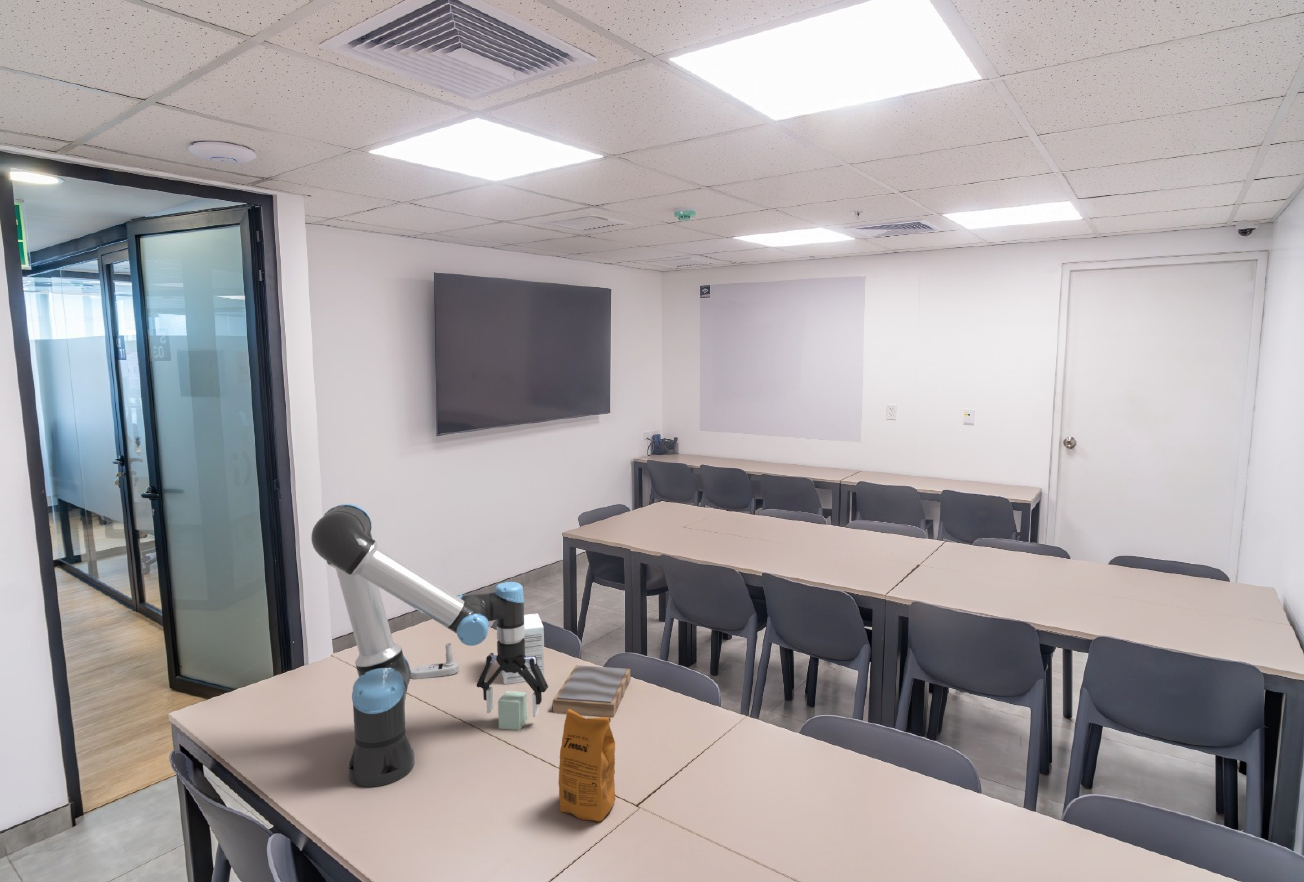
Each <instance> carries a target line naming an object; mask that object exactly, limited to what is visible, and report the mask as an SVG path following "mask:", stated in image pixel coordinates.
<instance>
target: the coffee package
mask: <svg viewBox="0 0 1304 882" xmlns="http://www.w3.org/2000/svg"><path fill="white" fill-rule="evenodd" d="M565 716H566V717H565V720H564V725H563V732H562V733H563V734H562V739H561V746H560V750H559V751H560V752H559V766H558V767H559V768H558V797H559V799H558V800H559V812H561V813H566V814H572V815H573V816H575V817H576V818H578V819H579V820H582V821H594V822H601V821H604V820H605V817H606V816H607V815H608V814H609V812H610V811H611V810H612V809H613V806H614V805H615V801H616V785H615V773H616V770H615V768H616V767H615V765H616V754H615V753H616V740H615V738H614V735H613V732H612V729H611V725H610V724H611V720H612V719H611V717H605V716H599V717H587V718H586V717H584V716H582V715H581V714H577V713H576V712H574V711H572V710H571V709H568V710H567V713H565Z"/></svg>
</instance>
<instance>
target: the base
mask: <svg viewBox="0 0 1304 882" xmlns="http://www.w3.org/2000/svg"><path fill="white" fill-rule="evenodd" d="M631 671H632V670H631V668H622V667H621V668H620V667H608V666H607V667H605V666H593V665H579V664H576V665H575V666H574V668H573V669H572V671H571V672H570V673H569V675H568V677H567V678H566V680H565V681H564V683H563V684H562V685H561V687H560V689H559V690H558V692H557V693H556V695H555V696H554V698H553V699H552V712H553V713H558V714H567V710H568V709H571V710H572V711H574V712H576V713H577V714H579V715H581V716H582V715H583V716H592V717H593V716H594V717H595V716H596V717H609V718H615V716H616V713H617V711H618V709H619V707H620V705H621V702H622V700H623V698H624V695H625V693H626V691H627V689H628V686H630V685H629V684H630V682H631V679H632V678H631V677H632V675H631Z"/></svg>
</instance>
